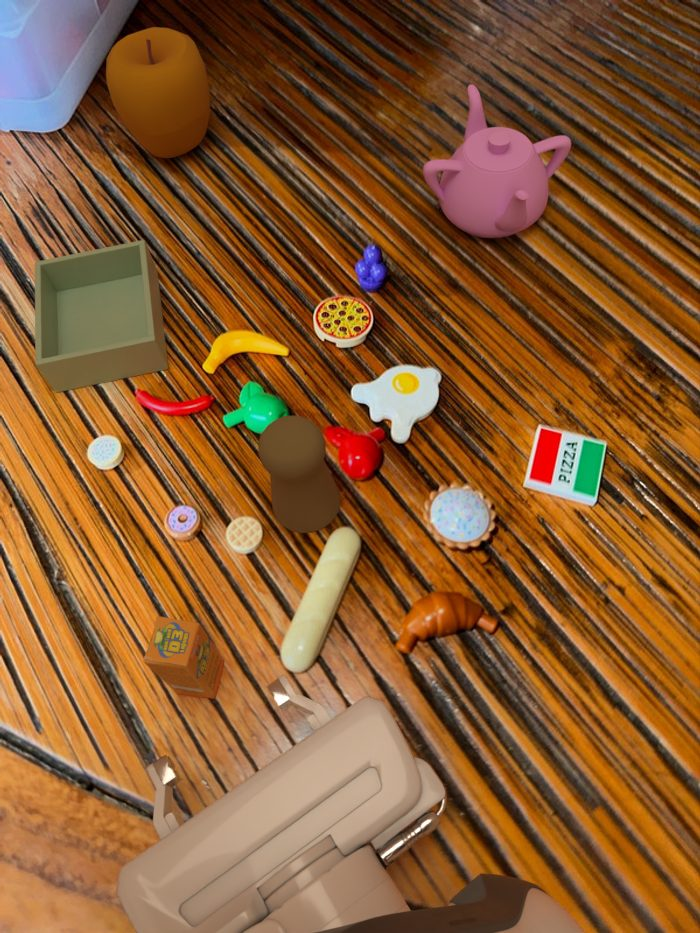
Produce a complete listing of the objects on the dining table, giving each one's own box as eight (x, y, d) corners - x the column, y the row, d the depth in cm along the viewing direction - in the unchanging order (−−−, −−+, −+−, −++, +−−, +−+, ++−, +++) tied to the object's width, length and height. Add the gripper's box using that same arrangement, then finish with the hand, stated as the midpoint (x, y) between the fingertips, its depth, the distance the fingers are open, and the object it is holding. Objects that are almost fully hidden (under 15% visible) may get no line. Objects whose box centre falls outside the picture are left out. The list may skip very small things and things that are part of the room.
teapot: (515, 266, 78) (526, 198, 70) (404, 213, 83) (403, 144, 75) (574, 197, 82) (591, 125, 74) (465, 150, 87) (470, 78, 79)
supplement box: (218, 701, 59) (185, 669, 50) (176, 694, 59) (136, 661, 50) (229, 659, 60) (199, 621, 51) (188, 652, 61) (151, 613, 52)
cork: (307, 546, 64) (289, 487, 55) (257, 504, 67) (232, 440, 57) (355, 498, 66) (345, 432, 57) (305, 458, 69) (288, 389, 59)
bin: (168, 369, 75) (155, 339, 70) (55, 393, 74) (35, 364, 70) (157, 271, 81) (144, 239, 77) (53, 292, 80) (34, 261, 76)
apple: (187, 188, 87) (154, 85, 76) (114, 161, 90) (71, 57, 79) (240, 130, 91) (216, 24, 80) (168, 106, 94) (136, 0, 83)
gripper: (464, 805, 46) (339, 623, 52) (167, 1033, 42) (68, 805, 48) (458, 813, 52) (346, 648, 58) (195, 1015, 47) (103, 813, 53)
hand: (218, 720), depth 53 cm, fingers open, 8 cm apart
